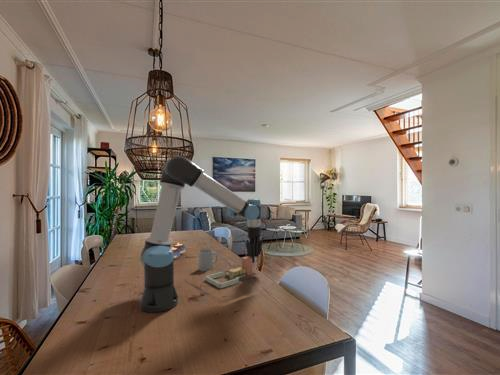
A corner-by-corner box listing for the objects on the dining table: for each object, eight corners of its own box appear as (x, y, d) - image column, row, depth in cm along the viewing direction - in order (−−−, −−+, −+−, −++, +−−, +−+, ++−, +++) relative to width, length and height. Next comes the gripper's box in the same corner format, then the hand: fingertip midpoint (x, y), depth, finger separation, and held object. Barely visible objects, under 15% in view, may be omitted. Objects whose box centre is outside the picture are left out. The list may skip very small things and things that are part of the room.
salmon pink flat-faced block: (246, 275, 137) (246, 259, 137) (242, 274, 140) (241, 257, 140) (252, 274, 139) (252, 257, 139) (247, 272, 142) (247, 256, 142)
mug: (202, 272, 147) (201, 253, 147) (196, 268, 154) (196, 250, 154) (220, 268, 153) (220, 250, 153) (214, 265, 160) (214, 247, 160)
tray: (220, 290, 120) (220, 283, 120) (205, 282, 131) (205, 276, 131) (238, 285, 127) (238, 278, 127) (223, 277, 138) (223, 271, 138)
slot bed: (236, 283, 128) (236, 278, 128) (225, 278, 136) (225, 273, 136) (256, 277, 137) (256, 272, 137) (245, 272, 145) (245, 268, 145)
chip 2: (239, 277, 134) (239, 270, 134) (235, 275, 137) (235, 268, 137) (245, 276, 136) (245, 268, 136) (241, 274, 139) (241, 267, 139)
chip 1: (233, 279, 131) (233, 272, 131) (228, 277, 134) (228, 270, 134) (239, 278, 133) (239, 270, 133) (234, 276, 137) (234, 268, 137)
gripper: (249, 228, 136) (249, 272, 136) (267, 225, 144) (267, 267, 144) (240, 226, 142) (241, 268, 142) (258, 224, 150) (258, 264, 150)
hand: (254, 267), depth 143 cm, fingers closed
